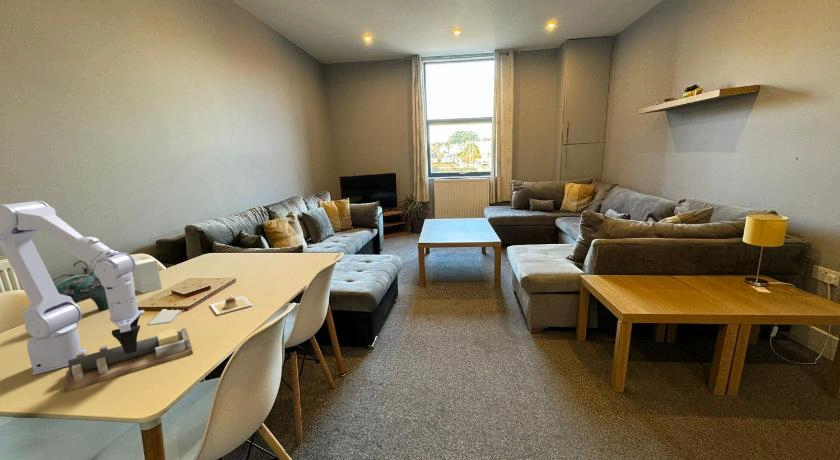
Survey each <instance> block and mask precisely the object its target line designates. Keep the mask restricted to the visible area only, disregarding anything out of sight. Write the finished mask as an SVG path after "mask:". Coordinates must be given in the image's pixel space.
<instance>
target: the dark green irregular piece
mask: <svg viewBox="0 0 840 460" xmlns="http://www.w3.org/2000/svg"><path fill="white" fill-rule="evenodd" d="M78 263H84V264H85V266H81V269H83V271H82V272H81V273H76V274H63V275H60V276H58V277H55V278H54V279H52V281H53V283H54V285H55V287H56V289H57V291H58V293H59V294H61V295H66V296H70V297H71V298H72V300H73V301H74V303H75V304H77V303H80V302H81V301H85V300H89V299H90V300H92V301H93V302H94V303H95V305H96V307H97V309H98V310H99V311H106V310H109V307H108V302H107V297H106V293H105V288H104V287H103V285H101V281H100V279H99V278H97V277H96V275H95V274H94V271H93V270H95V269H94V268H93V267H91V266H90V265H89V266H88V264H87V263H85V262H84V261H82V260H77V261H76V262H74V264H73V265H72V266H73V267H76V265H77V264H78ZM62 277H64V278H62ZM60 278H62V279H60ZM58 279H60V280H58ZM56 280H57V281H56ZM54 281H55V282H54ZM54 307H56V306H54ZM54 307H51V308H49V309H52V308H54ZM49 309H47V310H49ZM47 310H45V311H47Z"/></svg>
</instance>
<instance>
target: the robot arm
mask: <svg viewBox="0 0 840 460" xmlns="http://www.w3.org/2000/svg"><path fill="white" fill-rule="evenodd" d="M39 231H42V232H43V233H45V234H47V235H49V236H51V237H52V238H54V239H56V240H57V241H60V242H61V243H64V244H65V245H67V246H68V247H70V254H71V255H73V256H74V257H76V258H78V259H79V260H80V261H84V262H85V263H86V264H87V266H89V267H90V266H91V267H93V268H94V269H95V270H93V271H94V274H95V275H96V277H97V278H99V279H100V281H101V285H103V287H104V288H105V293H106V297H107V302H108V307H109V309H108V310H109V311H108V312H109V315H110V319H109V320H110V323H112V324H114V325H115V326H117V327H118V328H116V329H113V330H111V335H112V337H114V338H115V339H116V340H117V341H118V342H119V343H120V346H122V347H123V349H124V351H125V353H126V354H128V353H132V352H135V351H136V349H137V342H138V334H139V331H140V329H141V324H139V320H140V317H141V316H143V315H145V310H144V309H141V310H139V306H138V302H137V297H136V290H135V286H134V281H133V276H132V271H133V270H134V269H135V261H136V260H135V259H134V258H133V256H131V255H130V254H129V253H127V252H119V251H118V250H114V249H112V248H111V247H109V246H107V245H106V244H104V243H103V242H101V241H100V239H99V238H97V237H94V236H83V235H82V234H81V233H79V232H78V231H77V230H76V229H74V228H73V227H72V226H71V225H69V224H68V223H66V222H65V220H63V219H61V218H60V217H59V216H58V215H57V213H56V210H55V208H54V207H52V206H50V205H49V204H48V203H47V202H45V201H43V200H32V201H25V202H24V201H23V202H16V203H8V204H7V203H5V204H0V248H1V249H2V252H3V253H4V255H5V258H6V259H7V261H8V263H9V265H10V267H11V268H12V269H11V270H13V272H14V274H15V276H16V278H17V280H18V282H19V283H20V286H21V288H22V289H23V291H24V293H25V294H26V295H25V296H26V297H27V299H28V301H29V305H28V306H27V308H25V310H24V311H23V312H22V313H21V314H22V317H23V319H24V329H25V331H26V332H27V333H28V335H29V336H32V337H30V338H28V339H27V344H26V345H27V346H26V347H27V353H28V357H29V361H30V364H31V369H32V371H33V372H32V375H33V376H35V375H40V374H43V373H46V372H50V371H54V370H57V369H60V368H65V367H68V361H69V360H71V359H74V358H76V354H77V353H80V352H83V351H85V355H87V354H86V353H87V349H86V348H84V349H82V344H81V340H80V335H79V331H78V326H79V325H80V323H79V322H80V321H81V319H82V318H83V310H82V308H81V307H80V306H79V305H78V304H77V303H74V301H73V300H72V298H71V297H70V296H66V295H61V294H59V293H58V291H57V289H56V287H55V285H54V283H55V282H54V281H52V280H53V279H52V277H51V275H50V274H49V272H48V270H47V267H46V265H45V263H44V262H43V259H42V258H41V256H40V254H39V252H38V250H37V248H36V246H35V244H34V242H33V238H34V236H35V234H37V233H38V232H39ZM84 262H83V263H84ZM85 263H84V264H85ZM54 306H56V307H54ZM51 307H54V308H52V309H49V308H51ZM47 309H49V310H47ZM45 310H47V311H45ZM138 324H139V325H138Z"/></svg>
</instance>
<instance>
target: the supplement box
mask: <svg viewBox="0 0 840 460" xmlns="http://www.w3.org/2000/svg"><path fill="white" fill-rule="evenodd" d="M134 261H135V269H134V270H133V271H132V272H131V275H132V280H133V286H134V291H135V292H138V293H141V294H145V293H150V292H152V291H156V290H160V289H162V281H161V277H160V271H159V265H158V260H156V259H152V258H150V257H149V258H145V259H141V260H134Z"/></svg>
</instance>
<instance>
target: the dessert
mask: <svg viewBox="0 0 840 460" xmlns="http://www.w3.org/2000/svg"><path fill="white" fill-rule="evenodd" d="M238 300H242V302H244V304H246V305H245V306H242V307H238V308H236V307H237V306H239V305H238V304H239V303H238V302H237V301H238ZM223 304H224V307H223V308H225V309H231V310H227V311H223V312H219V310H218V309H217V307H216V306H218V305H223ZM209 306H210V307H211V309H212V310H213V311H214V313H215V314H216V315H218V316H220V315H222V314H227V313H231V312H234V311H237V310H242V309H245V308H249V307H251V306H253V303H251V301H249V300H248V299H247V298H246V297H245V295H242V296H238V297H234V295H231V294H230V295H229V298H226V299H225V300H222V301H218V302H214V303H210V304H209ZM233 308H234V309H233Z"/></svg>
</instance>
